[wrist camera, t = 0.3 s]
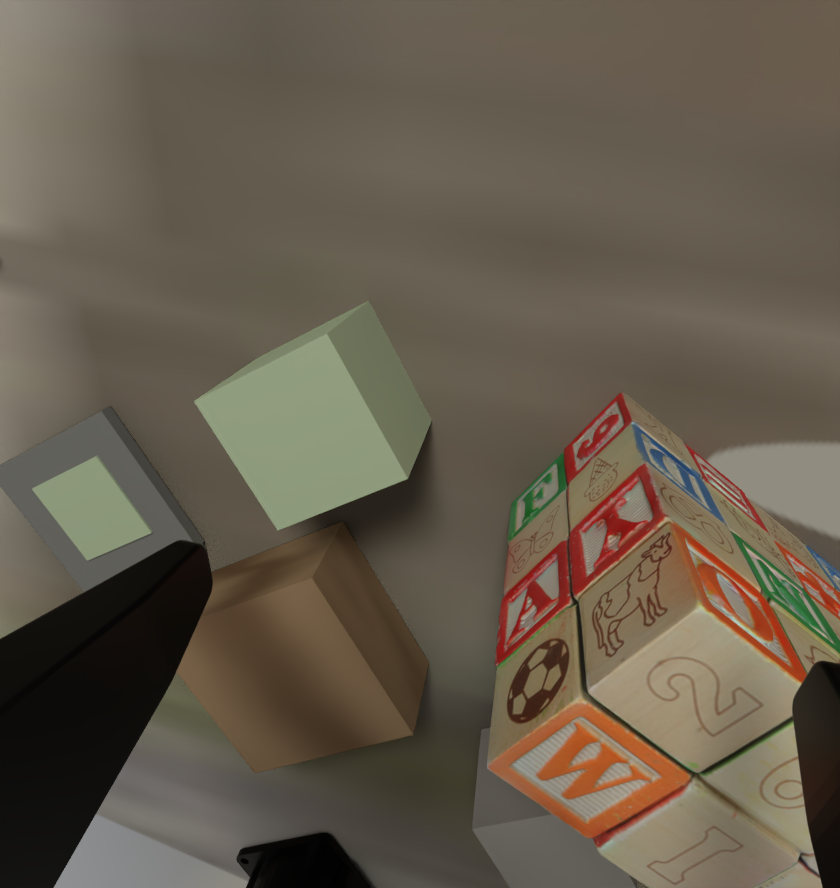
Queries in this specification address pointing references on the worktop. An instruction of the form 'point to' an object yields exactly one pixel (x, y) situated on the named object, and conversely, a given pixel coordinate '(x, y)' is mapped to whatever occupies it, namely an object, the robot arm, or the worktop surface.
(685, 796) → the stack of blocks
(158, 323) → the worktop surface
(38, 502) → the slate card
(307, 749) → the walnut base block
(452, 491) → the worktop surface
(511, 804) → the grey cube
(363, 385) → the sage cube
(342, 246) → the worktop surface
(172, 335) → the worktop surface
